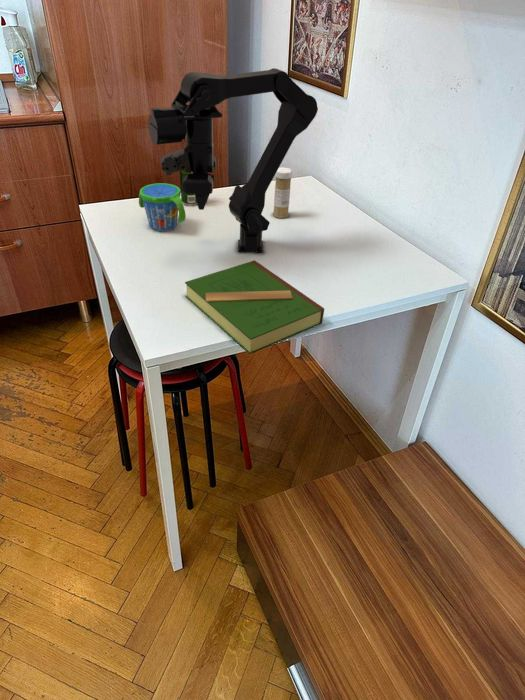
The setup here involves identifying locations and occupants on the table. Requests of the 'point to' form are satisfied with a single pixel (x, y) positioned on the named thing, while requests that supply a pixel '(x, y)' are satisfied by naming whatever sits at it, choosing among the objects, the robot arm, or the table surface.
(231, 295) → the ruler
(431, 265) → the table surface
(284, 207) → the sprinkles bottle
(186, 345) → the table surface
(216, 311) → the hardcover book
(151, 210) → the snack cup
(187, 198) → the green spice jar
